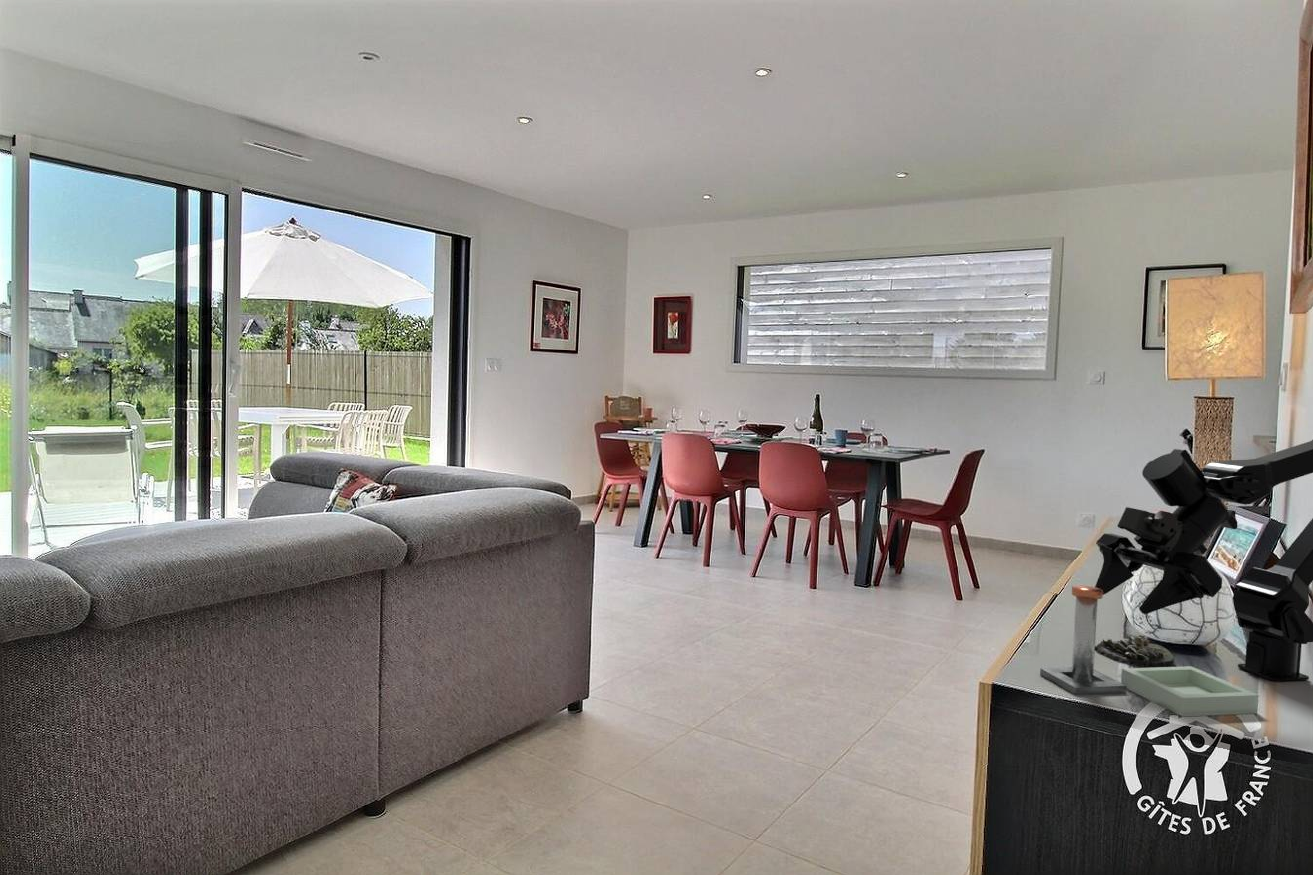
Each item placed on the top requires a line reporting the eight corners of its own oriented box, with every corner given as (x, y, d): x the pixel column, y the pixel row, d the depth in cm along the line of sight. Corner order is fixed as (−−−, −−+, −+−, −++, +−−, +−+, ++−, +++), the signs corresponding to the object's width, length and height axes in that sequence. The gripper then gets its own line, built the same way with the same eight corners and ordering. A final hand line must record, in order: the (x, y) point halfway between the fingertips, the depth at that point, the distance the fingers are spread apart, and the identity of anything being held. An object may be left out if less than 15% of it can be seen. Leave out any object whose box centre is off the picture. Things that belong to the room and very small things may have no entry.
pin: (1085, 678, 124) (1090, 585, 123) (1103, 687, 120) (1109, 592, 119) (1060, 679, 123) (1066, 585, 122) (1078, 688, 119) (1084, 592, 119)
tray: (1190, 682, 123) (1191, 666, 123) (1257, 713, 112) (1258, 694, 112) (1120, 685, 121) (1121, 668, 121) (1181, 716, 110) (1183, 697, 110)
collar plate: (1088, 673, 126) (1088, 666, 126) (1126, 692, 118) (1126, 685, 118) (1040, 674, 125) (1040, 668, 125) (1074, 694, 117) (1075, 687, 117)
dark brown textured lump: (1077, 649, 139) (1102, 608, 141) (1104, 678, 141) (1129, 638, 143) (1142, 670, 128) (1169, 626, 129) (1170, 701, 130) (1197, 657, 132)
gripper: (1110, 482, 131) (1043, 552, 130) (1211, 498, 113) (1134, 580, 111) (1150, 531, 133) (1085, 601, 132) (1255, 555, 115) (1180, 636, 113)
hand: (1117, 603), depth 122 cm, fingers open, 9 cm apart
